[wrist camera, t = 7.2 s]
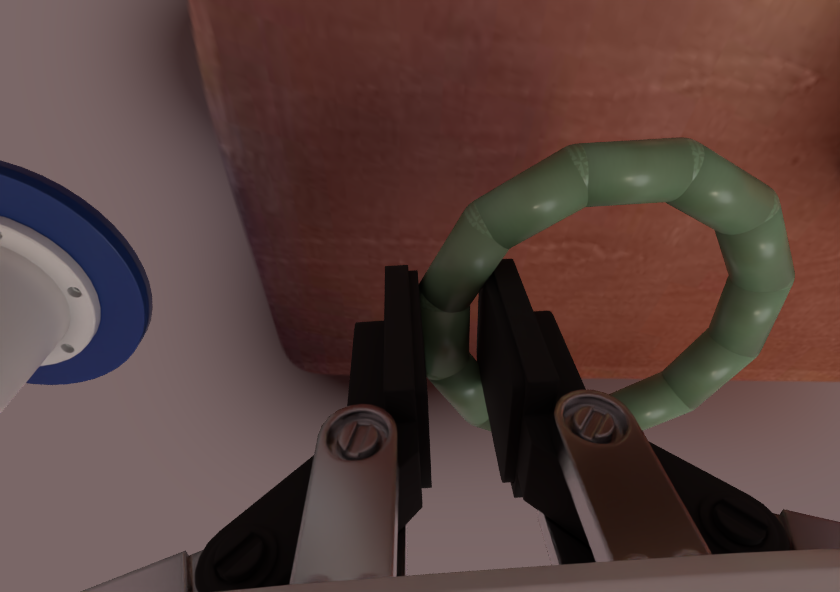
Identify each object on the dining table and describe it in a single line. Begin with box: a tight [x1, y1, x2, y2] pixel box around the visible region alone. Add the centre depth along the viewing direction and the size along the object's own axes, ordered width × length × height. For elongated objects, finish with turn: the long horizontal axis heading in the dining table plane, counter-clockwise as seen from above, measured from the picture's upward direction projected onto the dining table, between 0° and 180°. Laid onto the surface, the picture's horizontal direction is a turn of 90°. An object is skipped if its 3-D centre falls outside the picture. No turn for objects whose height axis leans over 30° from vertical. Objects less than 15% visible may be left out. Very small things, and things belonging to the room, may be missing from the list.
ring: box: [419, 138, 795, 431], centre depth 12 cm, size 8×8×1 cm
